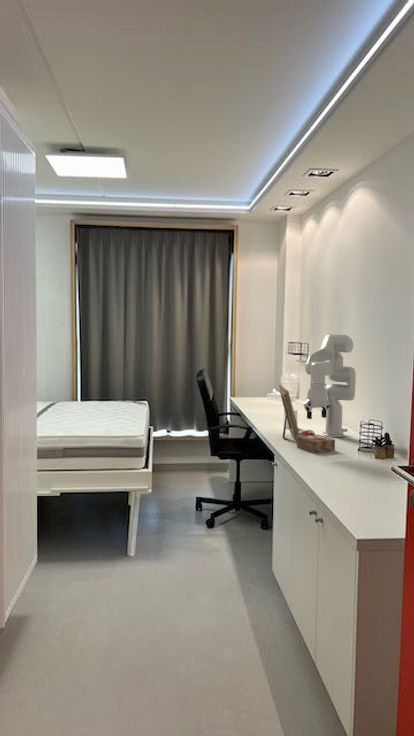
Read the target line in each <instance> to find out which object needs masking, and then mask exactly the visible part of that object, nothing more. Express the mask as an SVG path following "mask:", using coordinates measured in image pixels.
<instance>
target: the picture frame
mask: <svg viewBox="0 0 414 736" xmlns="http://www.w3.org/2000/svg"><path fill="white" fill-rule="evenodd" d="M278 388H279V393H280V394H279V395H280V398H281V403H282V406H283V411H284V410H285V414H286V416H285V423H284V428H283V432H282V439H283V440H285V439H286V430H287V429H286V421H288V425H289V429H288V430H289V432H290V434H291V435H292V436H293V438H294V439H295V440H296V436H297V435H298V434H299V433H300V431H299V427H298V421H297V422H296V418H295V415H294V411H293V409H294V407H293V404H292V400H291V396H290V392H289V390H288V389H287V388H285V387H284V386H283V384H279V387H278Z"/></svg>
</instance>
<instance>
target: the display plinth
mask: <svg viewBox="0 0 414 736" xmlns="http://www.w3.org/2000/svg"><path fill="white" fill-rule="evenodd" d="M296 442H297V443H296V448H297V449H299V448H300V450H302V451H306V452H309V453H311V454H319V453H320V454H321V453H328V452H335V451H336V439H334V438H332V437H327V436H324V435H321V434H315V435H310V436H300V437H297V441H296Z"/></svg>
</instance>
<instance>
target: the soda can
mask: <svg viewBox="0 0 414 736" xmlns="http://www.w3.org/2000/svg"><path fill="white" fill-rule="evenodd" d="M310 435H316V433H315V432H314V430H312V429H306V430H303V431H299V434H298V435H297V436H296V439H295V441H296V442H297V437H300V436H310Z"/></svg>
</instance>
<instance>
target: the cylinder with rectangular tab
mask: <svg viewBox="0 0 414 736" xmlns="http://www.w3.org/2000/svg"><path fill="white" fill-rule="evenodd" d="M293 411H294V415H295V418H296V422H297V423H298V409H294V408H293ZM285 416H286V414H285V410H284V409H283V423H282V426H283V427H282V428H283V429H284V423H285ZM286 430H290V429H289V425H288V421H286Z"/></svg>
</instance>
